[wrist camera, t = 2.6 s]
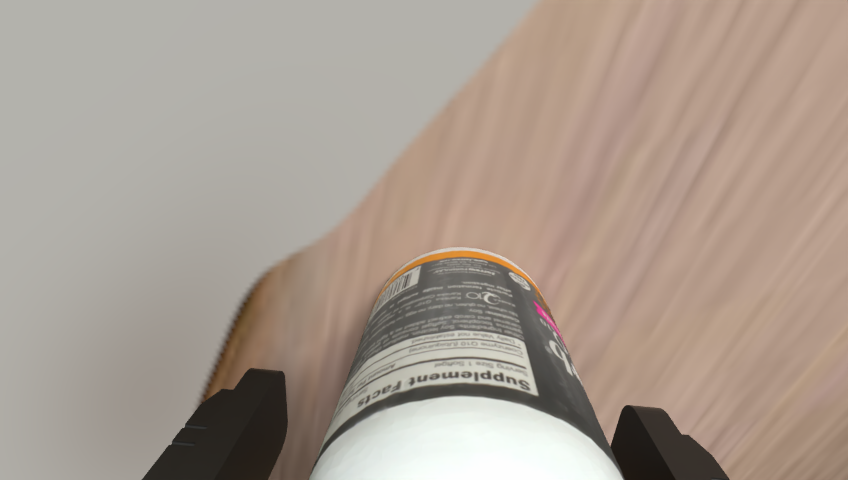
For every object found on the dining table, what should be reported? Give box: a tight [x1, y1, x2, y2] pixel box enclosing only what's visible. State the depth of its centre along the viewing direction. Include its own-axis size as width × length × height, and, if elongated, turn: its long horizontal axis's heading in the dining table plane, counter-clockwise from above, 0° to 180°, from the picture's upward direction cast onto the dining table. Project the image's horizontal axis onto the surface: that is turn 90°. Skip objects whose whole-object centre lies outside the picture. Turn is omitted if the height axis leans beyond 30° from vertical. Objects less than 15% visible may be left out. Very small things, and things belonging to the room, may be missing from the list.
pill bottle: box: [309, 247, 625, 480], centre depth 9 cm, size 6×6×10 cm
